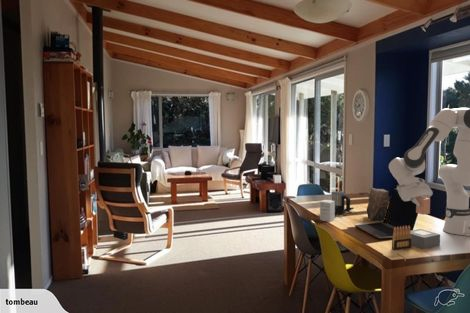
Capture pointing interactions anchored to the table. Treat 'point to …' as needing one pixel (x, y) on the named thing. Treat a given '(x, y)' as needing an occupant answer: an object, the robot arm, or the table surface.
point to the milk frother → (341, 202)
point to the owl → (377, 204)
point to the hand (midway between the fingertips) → (424, 205)
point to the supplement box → (327, 210)
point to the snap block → (423, 205)
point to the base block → (424, 239)
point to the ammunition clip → (401, 238)
